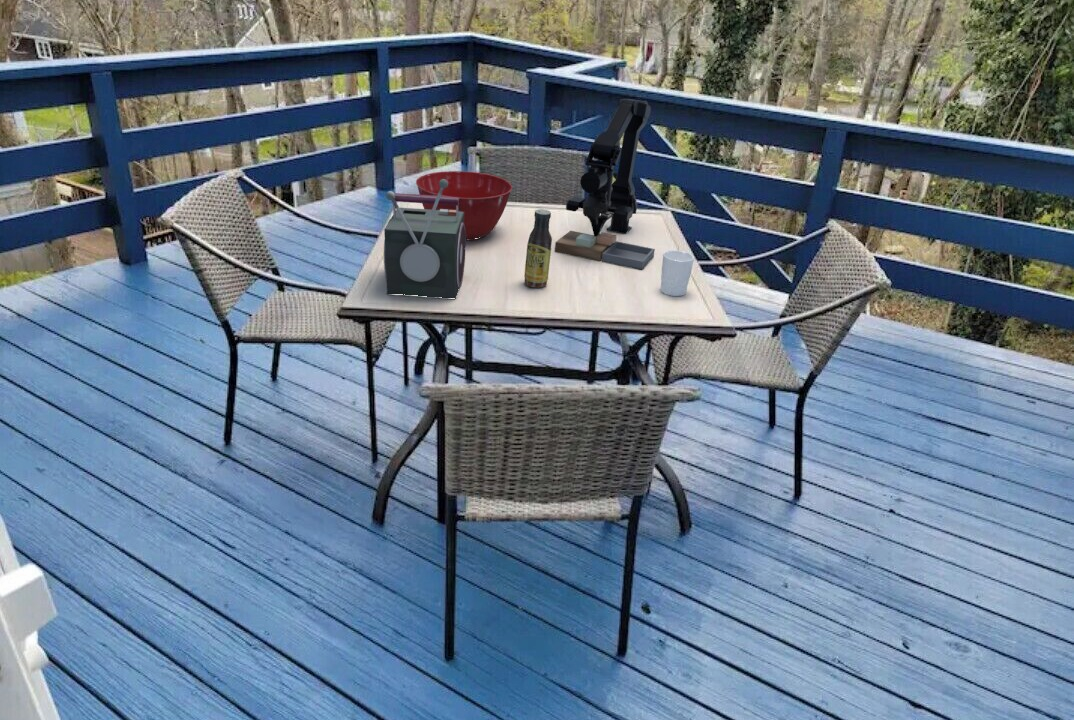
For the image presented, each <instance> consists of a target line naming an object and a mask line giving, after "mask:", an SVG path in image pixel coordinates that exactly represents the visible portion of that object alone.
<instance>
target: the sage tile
mask: <svg viewBox="0 0 1074 720" xmlns="http://www.w3.org/2000/svg"><path fill="white" fill-rule="evenodd" d="M586 234H587V233H585V234H581V235H579V236H578V237H577V238H576V245H580V246H585V247H591V246H593V245H594V244H595V242H596V236H591V235H592V234H590V235H586Z"/></svg>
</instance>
